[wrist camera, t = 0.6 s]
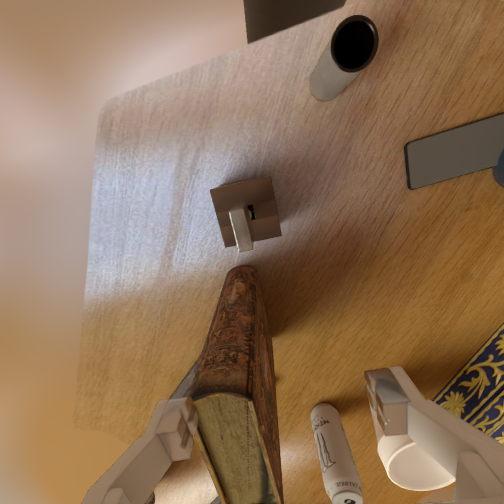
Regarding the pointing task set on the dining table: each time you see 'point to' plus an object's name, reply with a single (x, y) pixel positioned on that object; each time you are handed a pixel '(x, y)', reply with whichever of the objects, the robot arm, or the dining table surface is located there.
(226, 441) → the book
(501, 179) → the grey coffee mug
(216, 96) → the dining table surface
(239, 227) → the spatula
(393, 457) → the cup
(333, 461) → the energy drink can
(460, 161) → the smartphone
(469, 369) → the decorative box
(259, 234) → the utensil block
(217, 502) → the laptop
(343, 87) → the grey hollow cylinder
